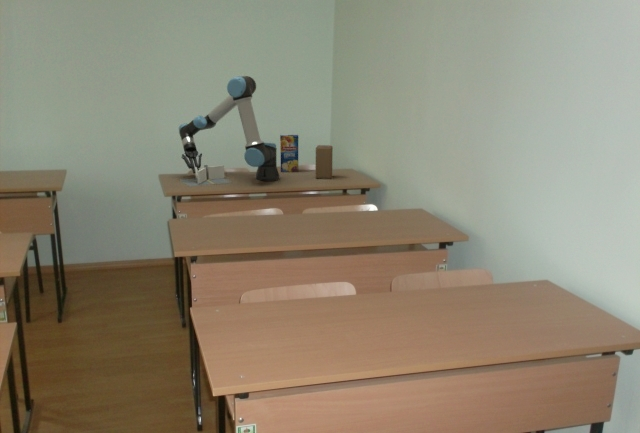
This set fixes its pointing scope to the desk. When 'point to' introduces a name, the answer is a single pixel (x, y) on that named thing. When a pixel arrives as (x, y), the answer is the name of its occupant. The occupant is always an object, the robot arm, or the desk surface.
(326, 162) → the wooden block
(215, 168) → the fence
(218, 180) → the card
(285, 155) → the juice carton
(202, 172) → the hinged panel
